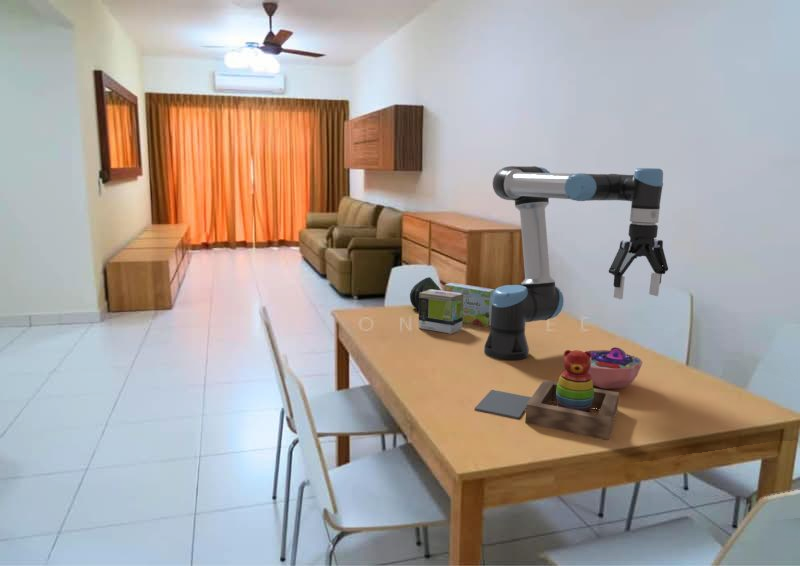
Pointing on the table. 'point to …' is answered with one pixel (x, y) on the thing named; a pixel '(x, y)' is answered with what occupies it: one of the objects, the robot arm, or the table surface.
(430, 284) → the squash
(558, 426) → the square wooden frame
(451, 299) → the tea box
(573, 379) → the stacking bear
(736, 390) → the table surface
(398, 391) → the table surface
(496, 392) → the rubber mat
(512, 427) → the table surface
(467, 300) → the snack box
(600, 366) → the cell model
